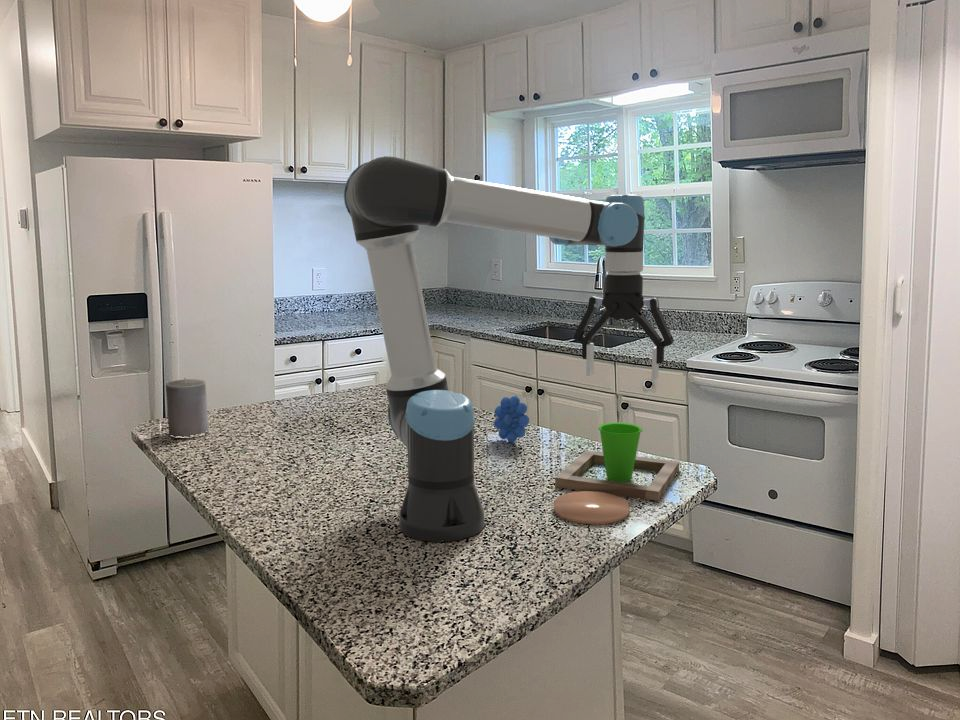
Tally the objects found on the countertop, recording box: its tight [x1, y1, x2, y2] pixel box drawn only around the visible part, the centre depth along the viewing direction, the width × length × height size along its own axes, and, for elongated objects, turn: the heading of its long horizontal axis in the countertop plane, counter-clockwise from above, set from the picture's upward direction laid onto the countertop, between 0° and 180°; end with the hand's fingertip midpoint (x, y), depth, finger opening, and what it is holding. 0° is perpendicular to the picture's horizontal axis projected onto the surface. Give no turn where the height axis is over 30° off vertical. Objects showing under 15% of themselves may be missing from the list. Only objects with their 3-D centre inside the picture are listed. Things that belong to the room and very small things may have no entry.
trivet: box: [553, 490, 630, 525], centre depth 143 cm, size 14×14×1 cm
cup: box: [597, 422, 643, 483], centre depth 160 cm, size 9×9×11 cm
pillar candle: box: [165, 377, 209, 436], centre depth 197 cm, size 10×10×15 cm
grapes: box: [493, 395, 530, 444], centre depth 188 cm, size 12×7×12 cm, turn 42°
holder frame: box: [554, 450, 680, 502], centre depth 161 cm, size 21×21×2 cm
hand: (621, 377), depth 157 cm, fingers open, 13 cm apart
